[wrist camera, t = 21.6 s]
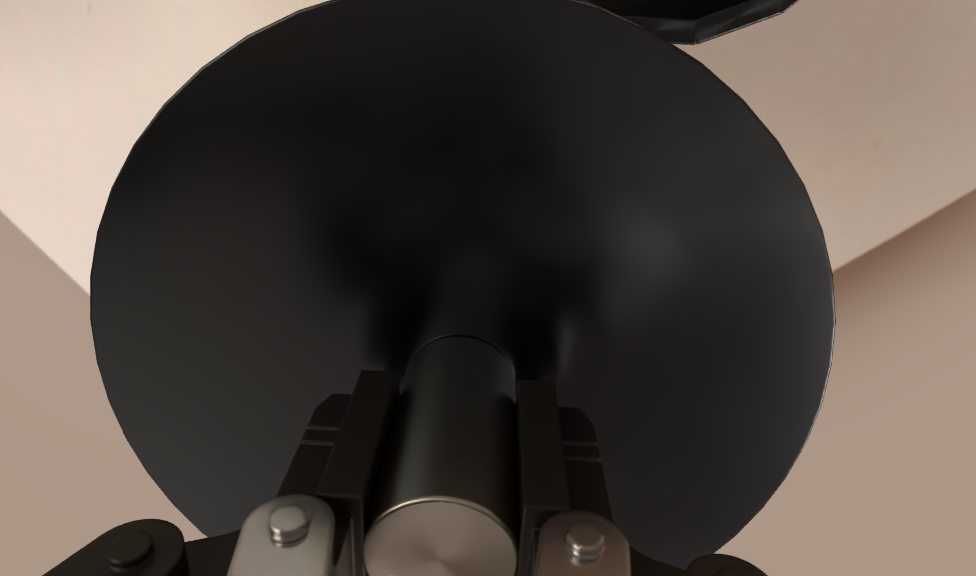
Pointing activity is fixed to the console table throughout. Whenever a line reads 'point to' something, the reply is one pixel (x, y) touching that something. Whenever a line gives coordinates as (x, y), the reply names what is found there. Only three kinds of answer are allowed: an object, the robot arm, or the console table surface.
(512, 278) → the bin lid
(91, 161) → the console table surface
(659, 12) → the trash can
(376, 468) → the robot arm
